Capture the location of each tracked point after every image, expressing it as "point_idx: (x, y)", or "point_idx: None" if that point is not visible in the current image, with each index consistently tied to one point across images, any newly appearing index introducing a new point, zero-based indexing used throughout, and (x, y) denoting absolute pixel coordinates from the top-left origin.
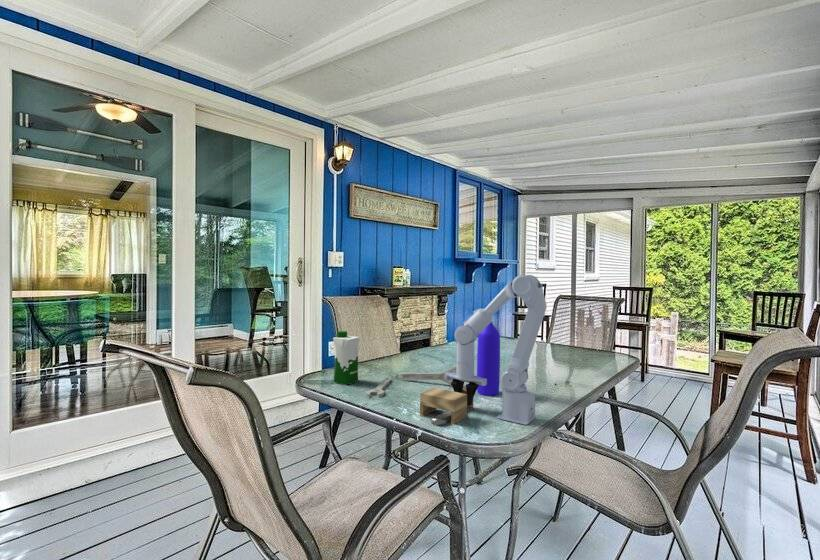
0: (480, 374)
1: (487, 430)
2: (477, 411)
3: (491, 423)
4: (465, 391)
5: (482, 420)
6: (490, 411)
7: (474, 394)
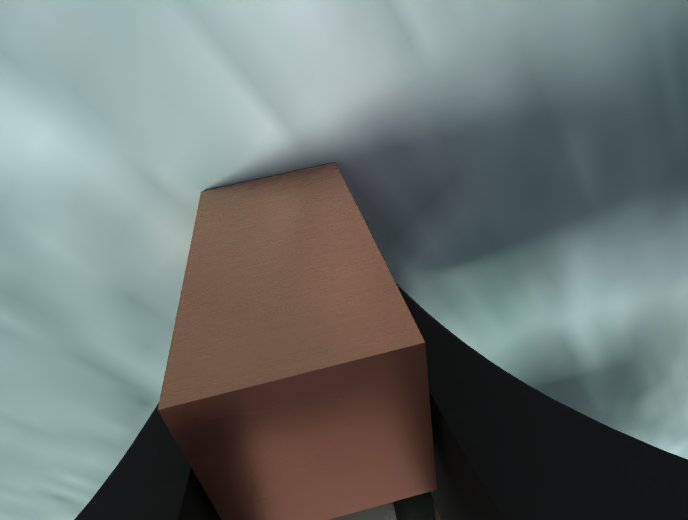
0: None
1: (677, 443)
2: (456, 231)
3: (679, 354)
4: (340, 498)
5: (597, 363)
6: (590, 102)
7: (488, 364)
